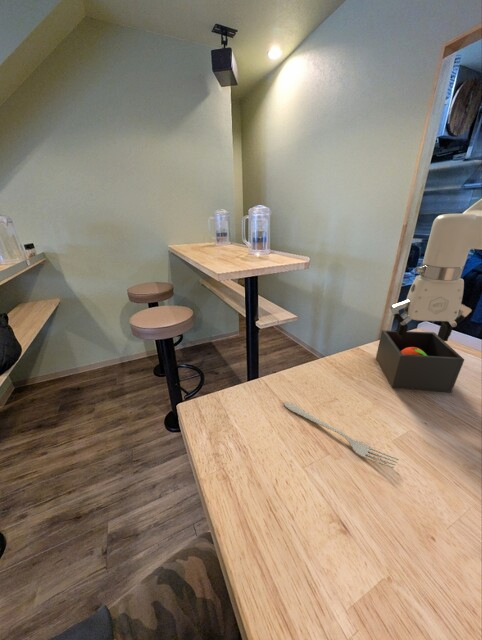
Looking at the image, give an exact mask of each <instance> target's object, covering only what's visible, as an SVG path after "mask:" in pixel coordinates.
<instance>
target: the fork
mask: <svg viewBox="0 0 482 640" xmlns="http://www.w3.org/2000/svg"><path fill="white" fill-rule="evenodd" d="M283 405H284V406H285V408H286V409H288V410H289V411H291V412H293V413H295V414H297V415H299V416H301V417H302V418H305V419H306V420H309V421H311V422H314V423H315V424H318V425H320V426H322V427H324V428H326V429H329V430H331V431H333V432H335V433H336V434H339V436H342V437H343V438H344V439H345V440H346V441H347V442H348V444H349V445H350V447H351V449H352V450H353V451H354V453H355V454H357V455H358V456H359V457H362V458H364V459H366V460H368V461H371V462H374V463H376V464H379V465H382V466H385V467H387V468H392V469H394V468H395V466H396V464H397V463H398V461H399V458H397V457H394V456H392V455H389V454H387V453H385V452H382V451H380V450H377V449H375V448H374V447H371V446H370V445H368V444H366V443H363V442H361V441H358V440H356V439H353V438H351V437H350V436H348V435H347V434H345V433H344V432H342V431H340V430H339V429H337V428H335V427H333V426H331V425H329V424H328V423H326V422H324V421H322V420H321V419H320V418H317V417H316V416H313V415H312V414H310V413H308V412H307V411H305V410H304V409H302V408H301V407H299V406H297V405H295V404H293V403H291V402H288V401H287V402H284V404H283Z"/></svg>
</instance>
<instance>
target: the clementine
mask: <svg viewBox="0 0 482 640" xmlns="http://www.w3.org/2000/svg"><path fill="white" fill-rule="evenodd" d="M401 353H402V354H405V355H423V356H427V354H425V352H423V351H422V350H421V349H419V348H416V347H408V348H405V349H403V350H401Z"/></svg>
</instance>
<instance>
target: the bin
mask: <svg viewBox="0 0 482 640" xmlns="http://www.w3.org/2000/svg"><path fill="white" fill-rule="evenodd" d="M408 347H416V348H419V349H421V350H422V351H423V352H425V354H427V356H423V355H405V354H402V353H401V350H403V349H405V348H408ZM375 360H376V361H377V364H378V365H379V367H380V369H381V372H382V373H383V374H384V377H385V378H386V380H387V381H388V383H389V385H390V387H391V389H402V390H413V391H426V392H438V393H439V392H440V393H452V392H453V390H454V387H455V385H456V382H457V380H458V377H459V375H460V373H461V370H462V368H463V364H464V362H465V358H464V357H463V356H461V355H460V354H459V353H458V352H457V351H456V350H455V349H454V348H452V347H451V346H450V345H449V344H448V343H447V341H443V340H442V339H441V338H440V337H439V336H438V333H436V332H433V331H413V330H412V331H410V330H409V331H408V330H407V332H406V336H405V339H401V338H400V337H399V336H398V335H397V333H396V330H388V329H387V330H385V329H382V330H381V333H380V338H379V342H378V347H377V351H376V355H375Z"/></svg>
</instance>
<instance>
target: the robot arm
mask: <svg viewBox="0 0 482 640" xmlns="http://www.w3.org/2000/svg"><path fill="white" fill-rule="evenodd" d="M470 250H482V198H480V199H478V201H476V202H475V203H473V204H472V205H471V206H469V208H466V210H465V211H463V212H462V213H443V214H440V215H438V216H436V218H435V219H434V220H433V222H432V225H431V229H430V234H429V237H428V241H427V245H426V248H425V252H424V256H423V260H422V263H421V264H420V266H417V267H415V268H414V273H415V274H418V275H416V276H415V278H414V280H413V282H412V283H411V286H410V288H409V291H408V293H407V296H406V299H405V300H403V301H400V302H398V303H395V304H392V305H391V306H389V308H390V311H391V314H392V317H394V318H395V320H396V321H397V327H396V329H395V331H396V333H397V335H398V336H399V337H400V338H401V339H405V336H406V332H407V331H408V327H409V325H408V324H409V323H410V322H411V321H412V320H413V321H418V322H419V321H421V322H423V321H424V322H441V324H440V326H439V329H438V332H437V335H438V336H439V337H440V338H441V339H442V340H443V341H444V342H448V340H449V338H450V337H451V334H452V331H453V328H456V327H457V326H458V324H460V323H461V322H463V321H464V320H465V318H466V317H468V316H469V314H470V313H472V311H473V309H471V307H468V306H466V305H465V304H463V303H462V302H463V296H464V289H465V281H464V279H463V278H461V277H462V274H463V271H464V268H465V265H466V262H467V260H468V256H469V253H470ZM402 309H403V313H401V314H400V312H399V311H401V310H402Z"/></svg>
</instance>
